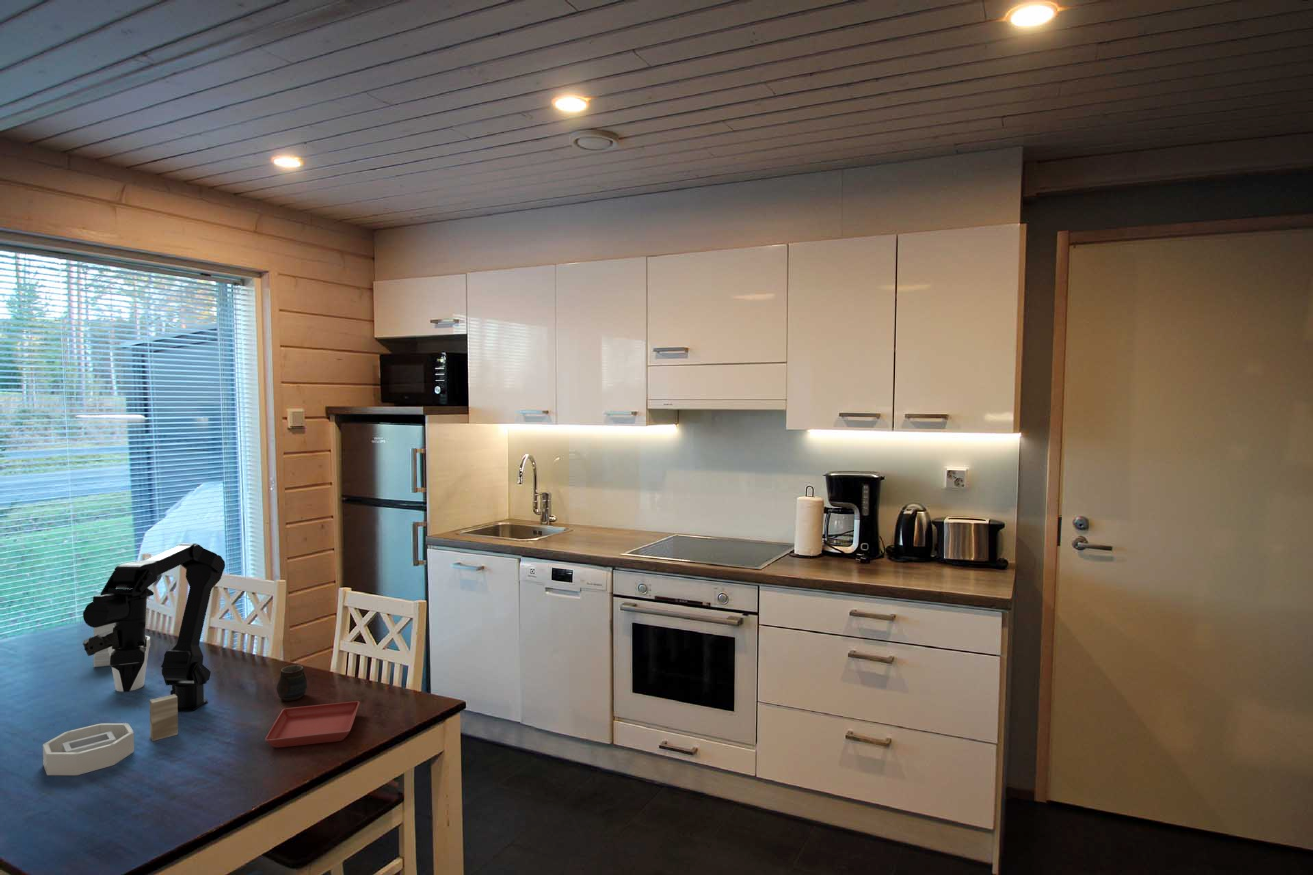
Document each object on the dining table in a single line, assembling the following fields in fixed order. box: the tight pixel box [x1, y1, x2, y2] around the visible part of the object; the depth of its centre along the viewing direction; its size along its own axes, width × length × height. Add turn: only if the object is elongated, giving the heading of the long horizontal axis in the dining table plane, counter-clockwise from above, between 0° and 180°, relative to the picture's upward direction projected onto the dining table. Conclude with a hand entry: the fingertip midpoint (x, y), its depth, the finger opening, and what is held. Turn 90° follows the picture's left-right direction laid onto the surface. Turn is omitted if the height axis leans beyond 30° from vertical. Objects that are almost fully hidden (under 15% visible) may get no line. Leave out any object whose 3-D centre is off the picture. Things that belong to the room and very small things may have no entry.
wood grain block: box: [149, 694, 179, 742], centre depth 170 cm, size 2×5×9 cm, turn 136°
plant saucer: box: [264, 700, 360, 749], centre depth 173 cm, size 18×18×3 cm
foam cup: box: [108, 635, 151, 693], centre depth 199 cm, size 10×9×13 cm
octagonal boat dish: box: [42, 722, 135, 776], centre depth 158 cm, size 15×15×4 cm
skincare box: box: [93, 623, 116, 668], centre depth 218 cm, size 8×7×16 cm
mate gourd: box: [276, 664, 308, 702], centre depth 193 cm, size 7×8×10 cm
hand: (127, 686), depth 166 cm, fingers open, 9 cm apart
